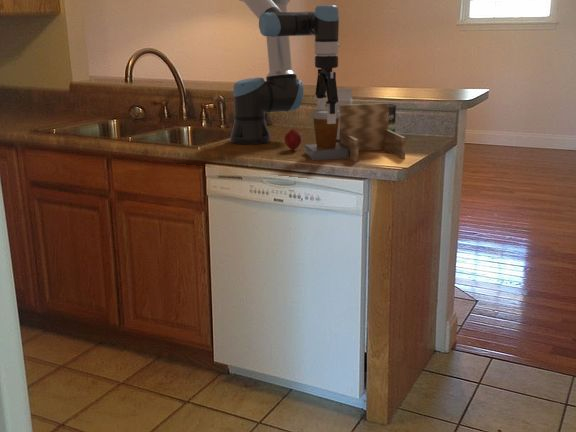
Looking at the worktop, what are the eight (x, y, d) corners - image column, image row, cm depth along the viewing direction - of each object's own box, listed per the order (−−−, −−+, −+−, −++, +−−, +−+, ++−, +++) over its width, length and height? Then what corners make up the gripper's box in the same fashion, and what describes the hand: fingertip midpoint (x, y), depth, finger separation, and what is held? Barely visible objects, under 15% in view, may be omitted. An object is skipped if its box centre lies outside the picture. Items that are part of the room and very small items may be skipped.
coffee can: (398, 145, 239) (400, 106, 235) (371, 146, 238) (372, 107, 234) (390, 140, 249) (391, 102, 245) (363, 141, 247) (364, 103, 243)
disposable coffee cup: (308, 145, 226) (308, 109, 222) (335, 143, 228) (335, 108, 224) (316, 150, 217) (316, 113, 214) (343, 148, 219) (344, 112, 216)
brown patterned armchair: (354, 161, 214) (355, 111, 209) (339, 151, 231) (339, 105, 226) (404, 158, 217) (406, 109, 212) (386, 148, 234) (387, 103, 229)
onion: (285, 148, 236) (285, 126, 234) (301, 148, 236) (301, 126, 234) (284, 151, 231) (283, 129, 229) (300, 151, 230) (300, 129, 228)
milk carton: (350, 140, 250) (350, 89, 245) (331, 140, 252) (331, 89, 246) (352, 137, 257) (352, 87, 252) (333, 136, 259) (334, 87, 253)
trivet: (313, 160, 216) (313, 151, 216) (305, 153, 228) (305, 144, 227) (348, 158, 219) (348, 149, 218) (338, 151, 230) (338, 142, 229)
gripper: (348, 57, 203) (347, 125, 209) (328, 52, 226) (327, 114, 232) (324, 57, 201) (324, 127, 208) (306, 53, 225) (306, 115, 231)
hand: (326, 120), depth 220 cm, fingers open, 13 cm apart
